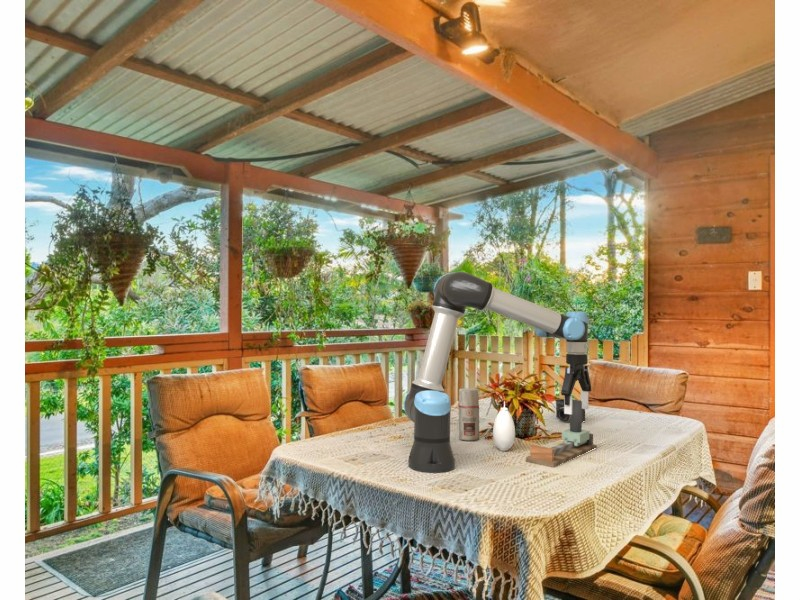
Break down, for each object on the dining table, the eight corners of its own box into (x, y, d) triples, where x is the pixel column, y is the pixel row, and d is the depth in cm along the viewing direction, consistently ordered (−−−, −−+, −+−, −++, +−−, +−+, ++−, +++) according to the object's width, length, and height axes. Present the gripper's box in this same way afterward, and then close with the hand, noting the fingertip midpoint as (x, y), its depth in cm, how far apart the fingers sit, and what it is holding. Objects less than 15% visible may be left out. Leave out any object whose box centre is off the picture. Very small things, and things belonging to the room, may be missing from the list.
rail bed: (553, 467, 181) (553, 450, 181) (526, 461, 188) (526, 445, 188) (596, 448, 206) (596, 434, 206) (571, 444, 213) (571, 429, 213)
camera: (546, 419, 259) (547, 398, 259) (559, 417, 266) (560, 396, 266) (574, 425, 248) (574, 402, 248) (587, 422, 255) (587, 400, 255)
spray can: (454, 439, 216) (455, 388, 216) (462, 435, 224) (463, 385, 224) (475, 442, 212) (475, 390, 212) (482, 438, 220) (483, 387, 220)
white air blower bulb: (498, 453, 197) (499, 402, 197) (489, 448, 204) (489, 399, 204) (518, 452, 199) (519, 402, 199) (508, 447, 206) (509, 398, 206)
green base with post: (579, 446, 199) (580, 403, 199) (561, 443, 204) (562, 401, 204) (589, 442, 205) (589, 401, 205) (571, 439, 209) (571, 398, 210)
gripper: (571, 356, 193) (571, 417, 193) (600, 352, 211) (600, 408, 211) (551, 354, 198) (551, 414, 198) (581, 350, 216) (581, 405, 216)
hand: (576, 411), depth 204 cm, fingers open, 13 cm apart
